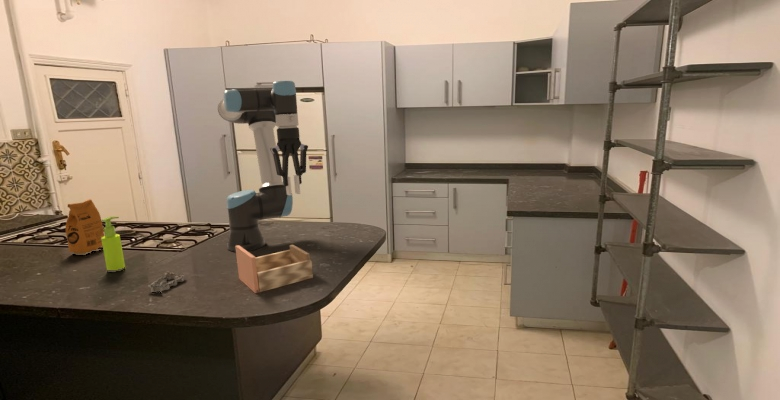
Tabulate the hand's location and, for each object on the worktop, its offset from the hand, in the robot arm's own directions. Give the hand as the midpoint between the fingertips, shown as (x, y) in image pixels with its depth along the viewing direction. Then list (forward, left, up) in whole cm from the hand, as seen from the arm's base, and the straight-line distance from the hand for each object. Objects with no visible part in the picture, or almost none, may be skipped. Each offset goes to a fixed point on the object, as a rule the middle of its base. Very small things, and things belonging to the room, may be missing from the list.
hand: (293, 194), depth 159 cm
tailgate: (-3, -24, -26) cm, 35 cm away
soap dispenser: (-64, -26, -27) cm, 74 cm away
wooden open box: (+2, -15, -27) cm, 31 cm away
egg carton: (-30, -32, -27) cm, 51 cm away
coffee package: (-99, -15, -27) cm, 104 cm away
